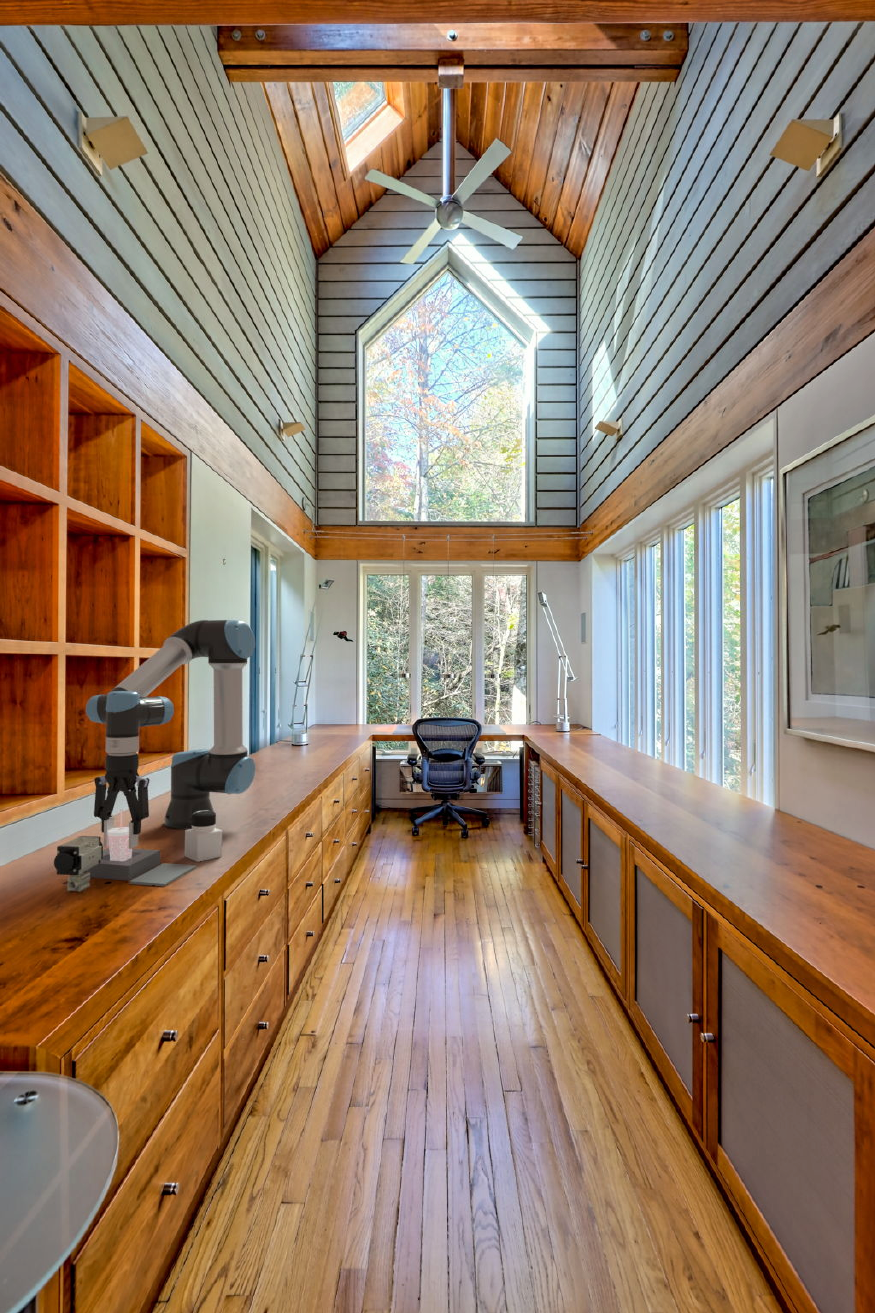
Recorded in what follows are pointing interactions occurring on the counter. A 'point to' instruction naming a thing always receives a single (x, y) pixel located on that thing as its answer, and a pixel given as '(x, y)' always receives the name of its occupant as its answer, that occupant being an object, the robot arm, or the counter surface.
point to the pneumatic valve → (78, 860)
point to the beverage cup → (119, 842)
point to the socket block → (125, 865)
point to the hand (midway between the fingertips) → (120, 846)
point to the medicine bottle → (203, 837)
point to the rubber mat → (163, 874)
